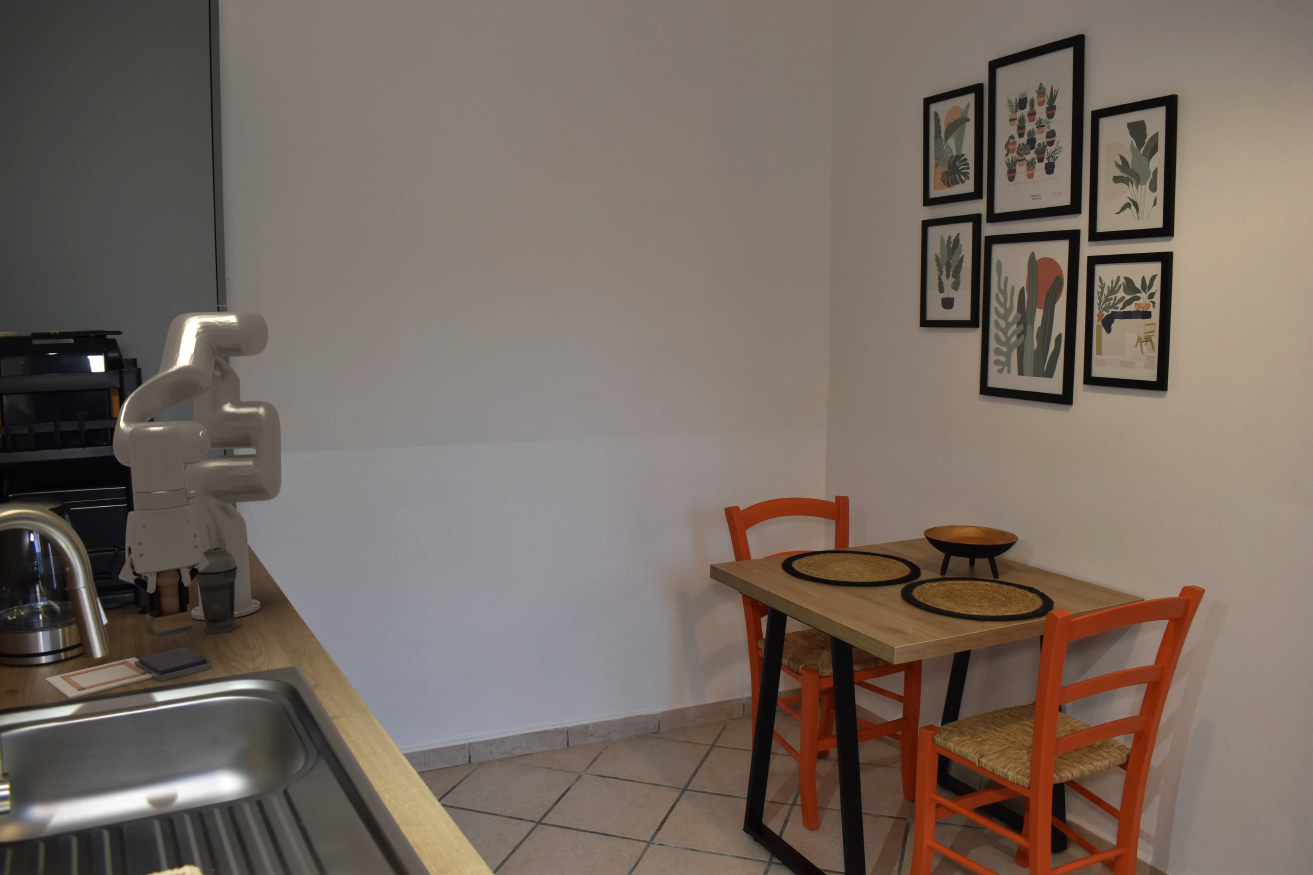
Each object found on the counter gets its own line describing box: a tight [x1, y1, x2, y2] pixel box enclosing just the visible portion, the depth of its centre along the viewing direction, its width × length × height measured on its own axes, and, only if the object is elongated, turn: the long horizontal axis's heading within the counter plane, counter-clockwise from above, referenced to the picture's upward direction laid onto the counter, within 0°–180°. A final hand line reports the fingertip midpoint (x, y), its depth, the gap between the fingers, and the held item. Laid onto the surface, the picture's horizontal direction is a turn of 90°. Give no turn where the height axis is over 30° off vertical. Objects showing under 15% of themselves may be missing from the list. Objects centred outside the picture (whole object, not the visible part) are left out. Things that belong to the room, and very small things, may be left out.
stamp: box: [145, 569, 194, 639], centre depth 150 cm, size 5×5×11 cm
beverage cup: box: [195, 525, 237, 635], centre depth 171 cm, size 7×7×20 cm
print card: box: [44, 657, 154, 699], centre depth 147 cm, size 13×13×1 cm
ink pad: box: [135, 646, 213, 683], centre depth 151 cm, size 11×8×2 cm
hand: (168, 611), depth 150 cm, fingers closed on stamp, 3 cm apart
